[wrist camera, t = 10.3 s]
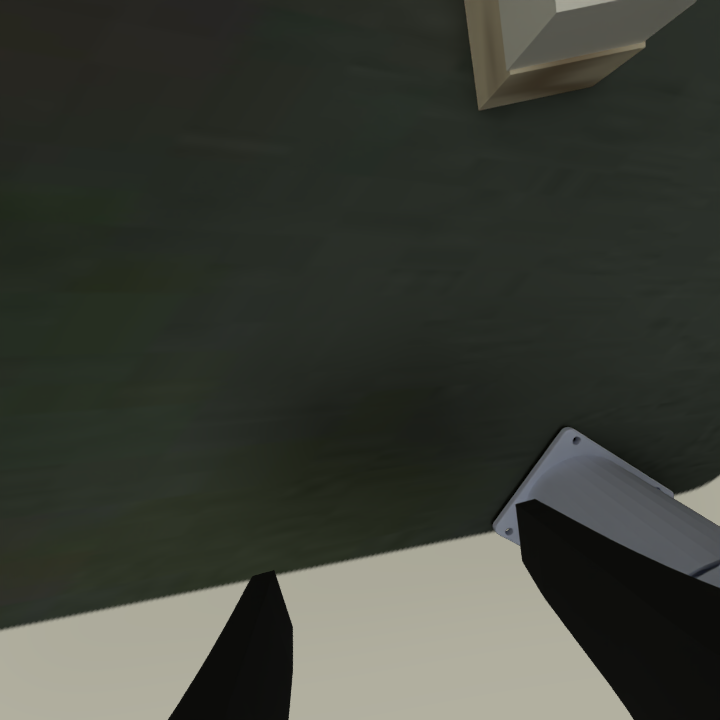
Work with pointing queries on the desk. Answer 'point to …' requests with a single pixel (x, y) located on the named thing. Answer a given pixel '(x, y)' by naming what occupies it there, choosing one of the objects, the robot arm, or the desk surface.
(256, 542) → the desk surface
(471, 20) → the lower block
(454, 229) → the desk surface
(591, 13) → the upper block
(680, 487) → the desk surface
